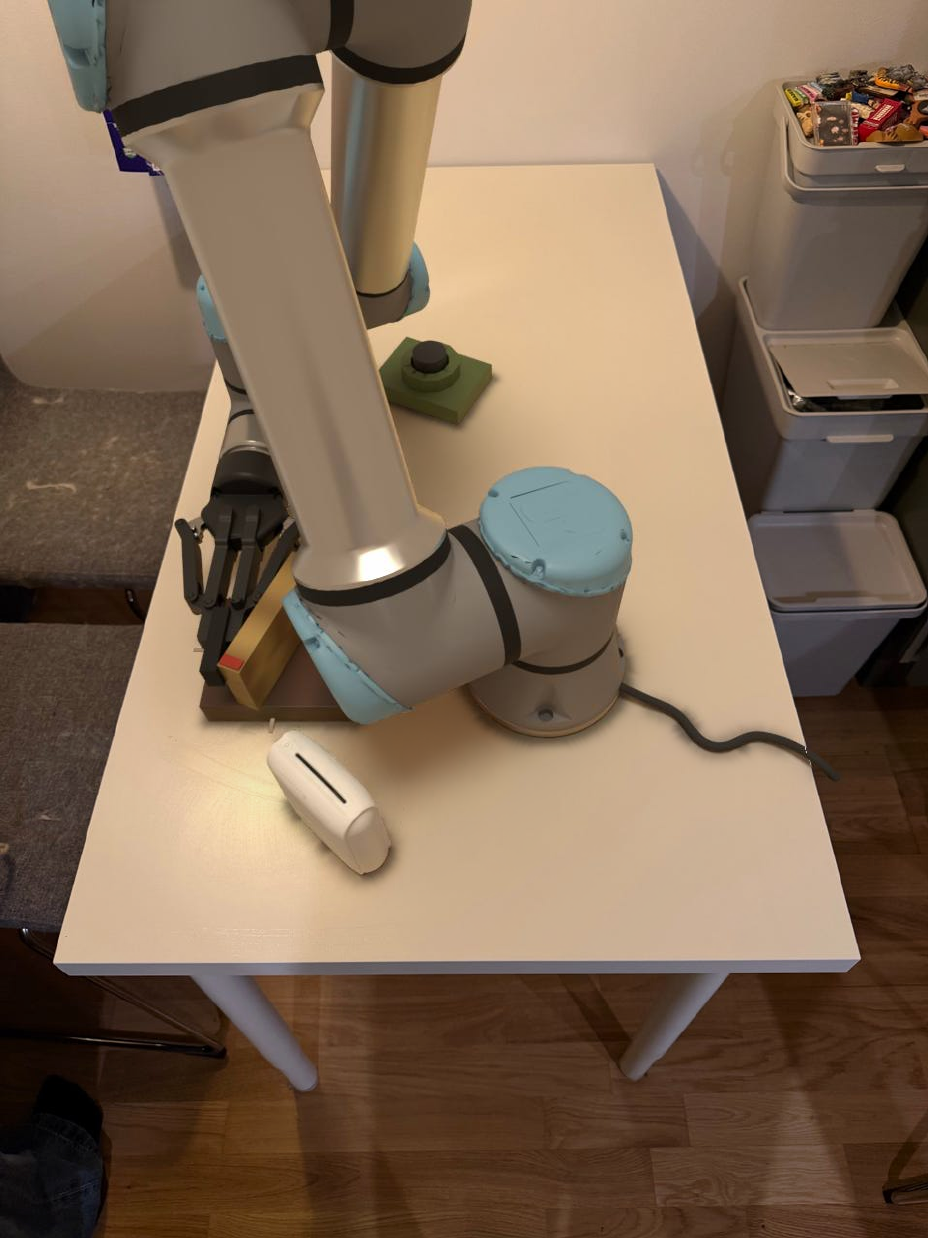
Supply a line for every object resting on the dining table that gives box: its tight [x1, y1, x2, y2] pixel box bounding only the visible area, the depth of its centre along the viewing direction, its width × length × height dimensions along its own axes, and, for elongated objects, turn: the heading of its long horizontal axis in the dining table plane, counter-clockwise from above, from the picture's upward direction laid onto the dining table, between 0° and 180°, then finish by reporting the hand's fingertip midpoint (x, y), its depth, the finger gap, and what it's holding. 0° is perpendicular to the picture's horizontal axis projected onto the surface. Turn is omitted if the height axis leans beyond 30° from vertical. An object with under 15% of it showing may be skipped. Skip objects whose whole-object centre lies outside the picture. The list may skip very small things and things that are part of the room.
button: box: [412, 340, 447, 374], centre depth 99 cm, size 4×4×2 cm
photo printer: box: [266, 730, 392, 876], centre depth 68 cm, size 10×4×12 cm, turn 46°
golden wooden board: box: [217, 551, 301, 711], centre depth 76 cm, size 13×2×7 cm, turn 157°
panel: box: [192, 597, 353, 734], centre depth 81 cm, size 17×17×3 cm
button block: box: [378, 336, 493, 426], centre depth 101 cm, size 12×9×4 cm
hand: (212, 678), depth 72 cm, fingers closed
